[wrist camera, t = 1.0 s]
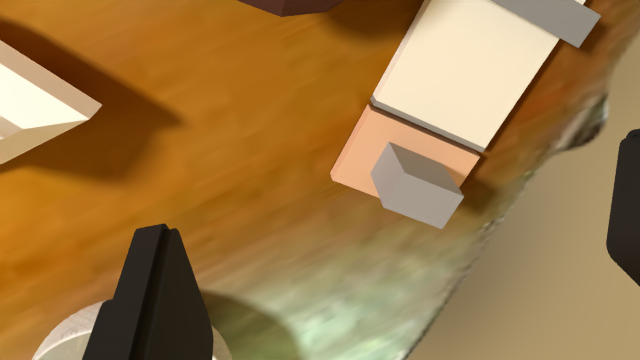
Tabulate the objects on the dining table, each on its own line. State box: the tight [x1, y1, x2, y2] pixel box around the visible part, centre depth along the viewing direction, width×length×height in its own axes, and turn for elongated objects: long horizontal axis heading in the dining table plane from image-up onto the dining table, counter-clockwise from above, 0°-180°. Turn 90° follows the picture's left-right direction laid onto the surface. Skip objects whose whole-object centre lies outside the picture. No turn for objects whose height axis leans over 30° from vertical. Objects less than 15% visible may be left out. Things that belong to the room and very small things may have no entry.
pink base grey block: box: [330, 104, 480, 229], centre depth 40 cm, size 6×10×6 cm, turn 64°
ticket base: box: [370, 0, 601, 153], centre depth 37 cm, size 13×11×3 cm
